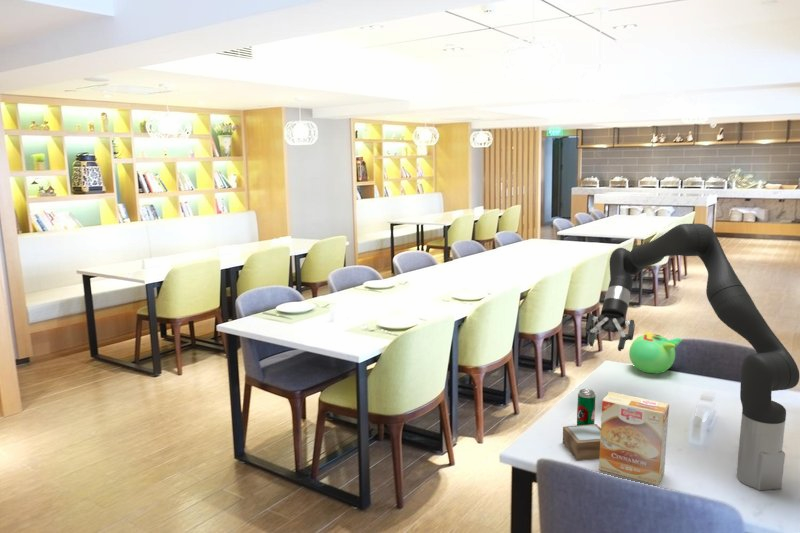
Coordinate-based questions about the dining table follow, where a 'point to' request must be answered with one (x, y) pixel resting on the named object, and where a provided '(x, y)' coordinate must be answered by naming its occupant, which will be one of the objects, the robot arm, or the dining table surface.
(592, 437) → the walnut plinth
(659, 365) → the toy bird
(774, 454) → the robot arm
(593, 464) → the dining table surface
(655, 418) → the coffeecake box
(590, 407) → the soda can
